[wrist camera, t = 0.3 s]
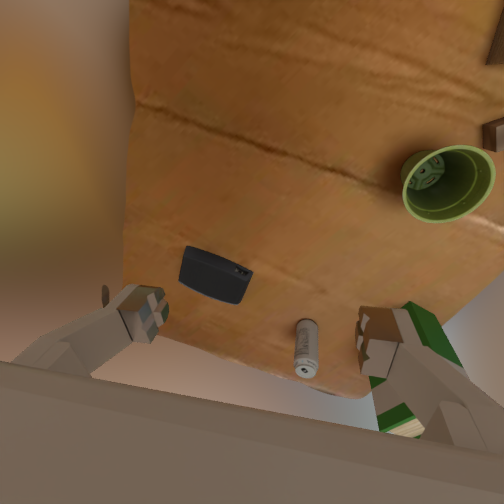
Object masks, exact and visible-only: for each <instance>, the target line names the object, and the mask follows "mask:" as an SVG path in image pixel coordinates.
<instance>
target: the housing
mask: <svg viewBox="0 0 504 504" xmlns="http://www.w3.org/2000/svg"><path fill="white" fill-rule="evenodd" d="M503 63H504V9H503V12H502V15H501V18H500V21H499V24H498V27H497V30H496V33H495V36H494V40H493V43H492V46H491V49H490V52H489V55H488V58H487V61H486V64H485V65H492V64H503Z"/></svg>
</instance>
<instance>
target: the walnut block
mask: <svg viewBox="0 0 504 504" xmlns="http://www.w3.org/2000/svg"><path fill="white" fill-rule="evenodd" d="M483 148H484V149H487V150H490V151H494V152H500V151H503V150H504V117H503V118H500V119H497V120H494V121H492V122H489V123H486V124H483Z"/></svg>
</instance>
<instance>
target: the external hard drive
mask: <svg viewBox="0 0 504 504" xmlns="http://www.w3.org/2000/svg"><path fill="white" fill-rule="evenodd" d="M252 275H253V272H252V271H250V270H248V269H247V268H245V267H243V266H240V265H238V264H236V263H234V262H232V261H230V260H227V259H225V258H222V257H220V256H217V255H215V254H212V253H209V252H206V251H204V250H201V249H198V248H194V247H191V246H186V249H185V252H184V255H183V260H182V265H181V270H180V275H179V282H180V283H181V284H183V285H184V286H186V287H188V288H190V289H192V290H194V291H196V292H198V293H200V294H202V295H205V296H207V297H210V298H212V299H215V300H218V301H221V302H225V303H229V304H233V305H238V304H239V303H240V302H241V300H242V298H243V296H244V293H245V291H246V289H247V286H248V284H249V282H250V279H251V277H252Z"/></svg>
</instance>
